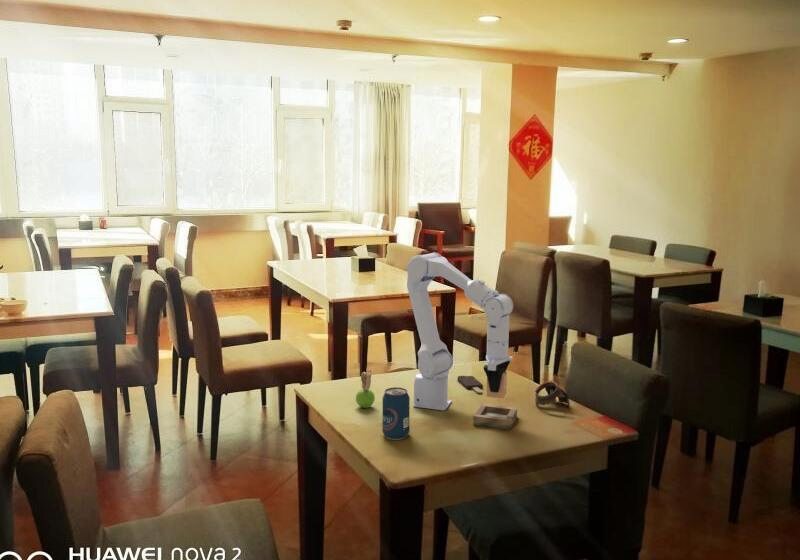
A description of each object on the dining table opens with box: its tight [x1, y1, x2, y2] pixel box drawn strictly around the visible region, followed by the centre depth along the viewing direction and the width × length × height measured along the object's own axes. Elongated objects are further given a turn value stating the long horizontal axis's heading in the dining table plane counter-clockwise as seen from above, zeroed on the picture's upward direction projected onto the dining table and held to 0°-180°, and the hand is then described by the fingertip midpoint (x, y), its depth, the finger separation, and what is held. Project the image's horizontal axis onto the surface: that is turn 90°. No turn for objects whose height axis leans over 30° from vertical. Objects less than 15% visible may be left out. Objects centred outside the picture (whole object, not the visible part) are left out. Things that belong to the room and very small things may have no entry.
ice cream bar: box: [457, 375, 484, 394], centre depth 212 cm, size 5×2×15 cm
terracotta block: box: [486, 371, 508, 399], centre depth 182 cm, size 4×4×6 cm
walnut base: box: [472, 403, 518, 431], centre depth 183 cm, size 10×10×2 cm
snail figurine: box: [355, 369, 376, 409], centre depth 192 cm, size 5×6×12 cm
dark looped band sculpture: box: [534, 380, 571, 409], centre depth 196 cm, size 12×10×8 cm
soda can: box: [381, 386, 411, 441], centre depth 172 cm, size 7×7×12 cm
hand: (496, 388), depth 182 cm, fingers closed on terracotta block, 4 cm apart
